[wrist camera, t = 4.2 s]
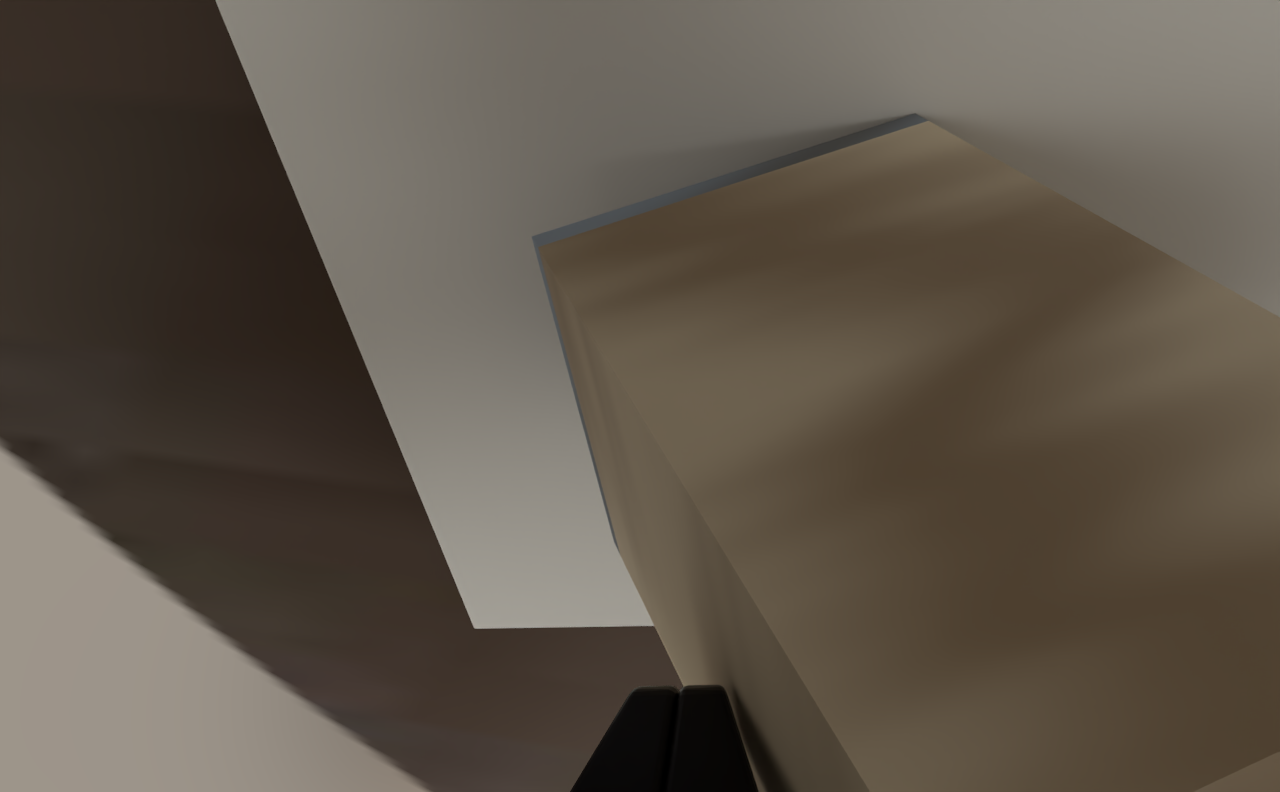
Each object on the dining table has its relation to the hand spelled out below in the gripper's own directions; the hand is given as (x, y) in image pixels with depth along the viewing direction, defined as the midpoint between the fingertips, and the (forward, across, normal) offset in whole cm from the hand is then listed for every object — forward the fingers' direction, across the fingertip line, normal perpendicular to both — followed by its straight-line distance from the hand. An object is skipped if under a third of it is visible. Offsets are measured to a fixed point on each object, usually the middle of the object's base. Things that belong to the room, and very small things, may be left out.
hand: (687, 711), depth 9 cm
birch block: (+6, 0, 0) cm, 6 cm away
